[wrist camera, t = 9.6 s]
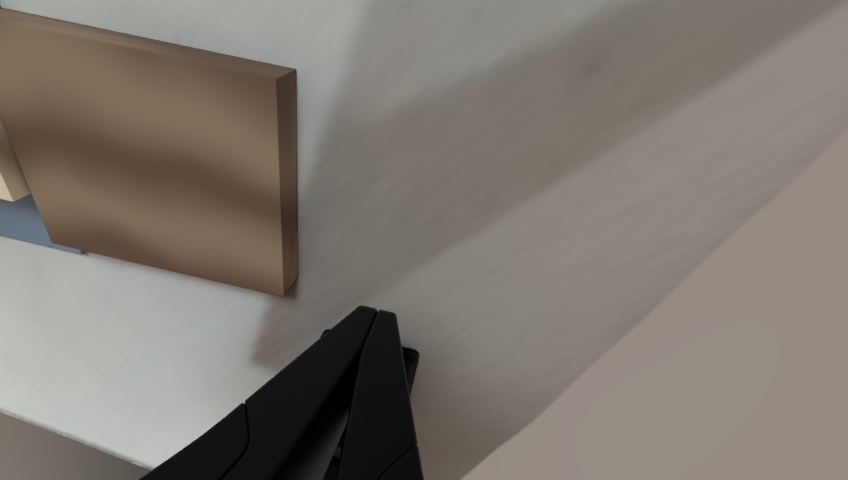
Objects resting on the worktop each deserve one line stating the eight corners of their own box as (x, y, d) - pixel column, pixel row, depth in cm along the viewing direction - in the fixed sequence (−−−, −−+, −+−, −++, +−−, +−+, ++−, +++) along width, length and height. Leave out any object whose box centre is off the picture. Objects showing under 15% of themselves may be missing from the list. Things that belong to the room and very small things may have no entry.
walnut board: (297, 275, 25) (283, 297, 24) (80, 225, 26) (51, 243, 24) (296, 69, 19) (275, 78, 17) (4, 8, 19) (-43, 11, 18)
